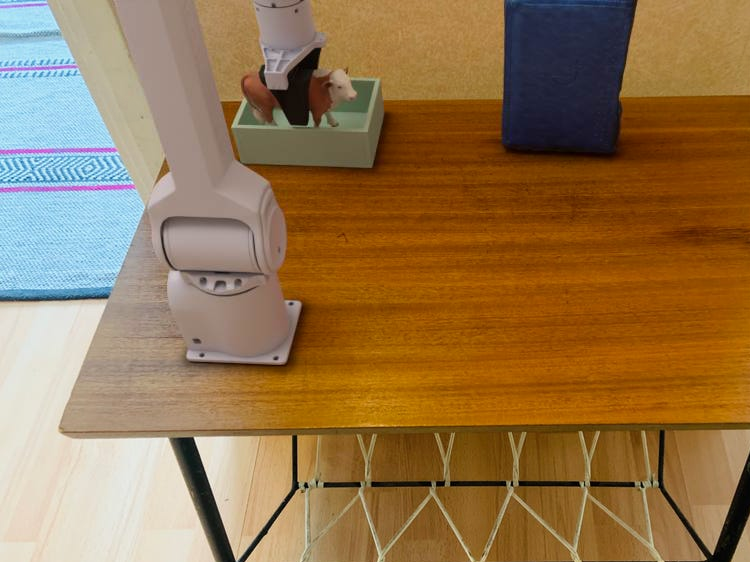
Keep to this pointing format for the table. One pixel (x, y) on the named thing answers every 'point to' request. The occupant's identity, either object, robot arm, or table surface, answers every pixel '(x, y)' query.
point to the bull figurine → (322, 95)
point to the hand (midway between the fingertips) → (303, 112)
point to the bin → (316, 133)
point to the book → (564, 73)
